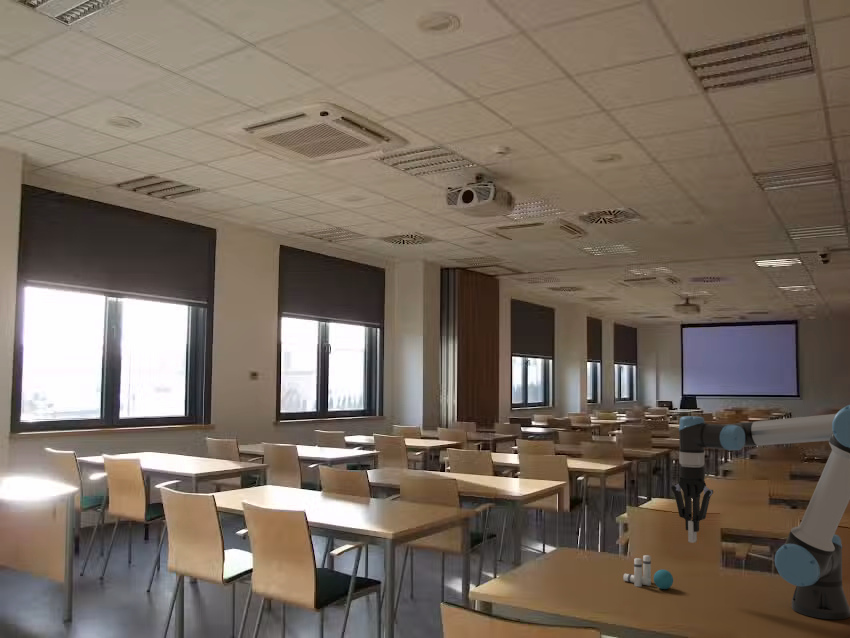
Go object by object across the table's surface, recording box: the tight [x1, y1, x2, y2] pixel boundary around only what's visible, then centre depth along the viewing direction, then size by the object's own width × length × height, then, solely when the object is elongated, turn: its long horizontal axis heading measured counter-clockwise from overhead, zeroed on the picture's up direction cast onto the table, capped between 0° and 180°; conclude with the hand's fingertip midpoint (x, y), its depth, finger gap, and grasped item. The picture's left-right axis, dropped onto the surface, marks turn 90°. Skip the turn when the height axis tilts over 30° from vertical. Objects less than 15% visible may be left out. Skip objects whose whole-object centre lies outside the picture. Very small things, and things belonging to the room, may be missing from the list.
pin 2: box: [642, 554, 652, 580], centre depth 251 cm, size 2×2×8 cm
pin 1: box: [633, 557, 643, 588], centre depth 246 cm, size 2×2×8 cm
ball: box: [653, 569, 674, 590], centre depth 243 cm, size 6×6×6 cm
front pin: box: [622, 572, 652, 587], centre depth 249 cm, size 2×2×8 cm
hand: (692, 541), depth 238 cm, fingers closed
